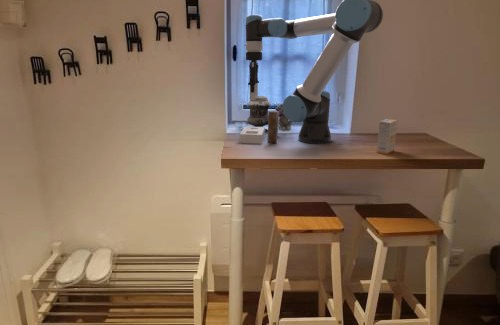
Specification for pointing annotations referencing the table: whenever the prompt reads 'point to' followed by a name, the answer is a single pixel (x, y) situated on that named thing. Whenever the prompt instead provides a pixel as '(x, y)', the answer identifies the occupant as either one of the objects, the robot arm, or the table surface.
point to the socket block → (252, 135)
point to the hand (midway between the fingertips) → (253, 98)
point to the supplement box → (386, 136)
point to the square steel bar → (277, 123)
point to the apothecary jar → (259, 111)
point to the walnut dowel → (272, 127)
